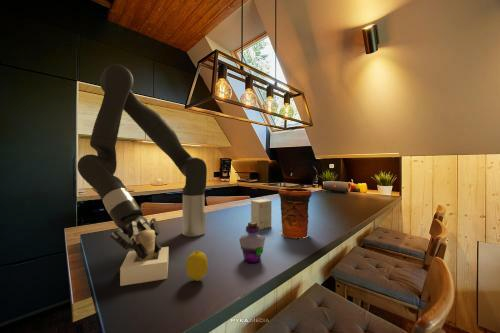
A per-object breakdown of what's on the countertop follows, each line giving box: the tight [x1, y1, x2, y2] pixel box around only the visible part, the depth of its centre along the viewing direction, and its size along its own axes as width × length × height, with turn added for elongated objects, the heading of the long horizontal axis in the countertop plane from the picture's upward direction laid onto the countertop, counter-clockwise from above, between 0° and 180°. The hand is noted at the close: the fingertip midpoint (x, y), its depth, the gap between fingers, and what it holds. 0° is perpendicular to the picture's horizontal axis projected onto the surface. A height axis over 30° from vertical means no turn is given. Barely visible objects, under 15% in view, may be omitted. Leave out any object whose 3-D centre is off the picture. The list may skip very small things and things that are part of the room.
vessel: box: [277, 187, 313, 240], centre depth 94 cm, size 14×14×20 cm
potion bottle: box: [239, 221, 266, 265], centre depth 69 cm, size 9×9×12 cm
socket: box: [119, 246, 170, 287], centre depth 61 cm, size 11×11×4 cm
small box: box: [250, 198, 272, 231], centre depth 104 cm, size 8×6×13 cm
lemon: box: [185, 249, 209, 282], centre depth 56 cm, size 6×6×8 cm
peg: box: [139, 230, 155, 262], centre depth 61 cm, size 4×4×10 cm
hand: (152, 253), depth 60 cm, fingers closed on peg, 4 cm apart
